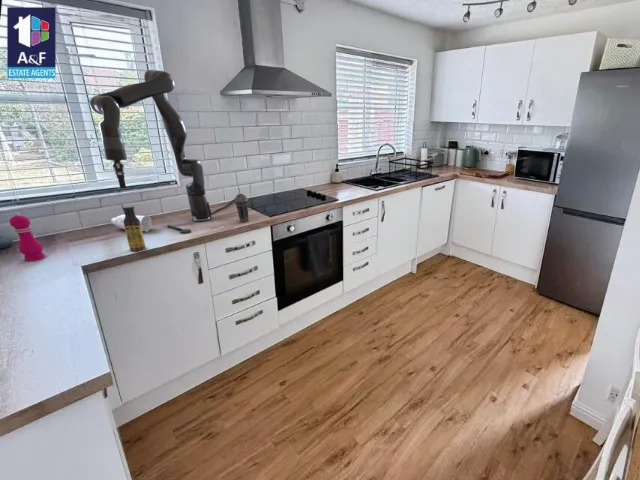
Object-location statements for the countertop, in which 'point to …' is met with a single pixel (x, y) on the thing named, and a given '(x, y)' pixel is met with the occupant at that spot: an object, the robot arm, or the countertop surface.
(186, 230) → the spoon
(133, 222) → the sauce bottle
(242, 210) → the beverage cup
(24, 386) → the countertop surface
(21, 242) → the pepper mill
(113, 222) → the white bottle
